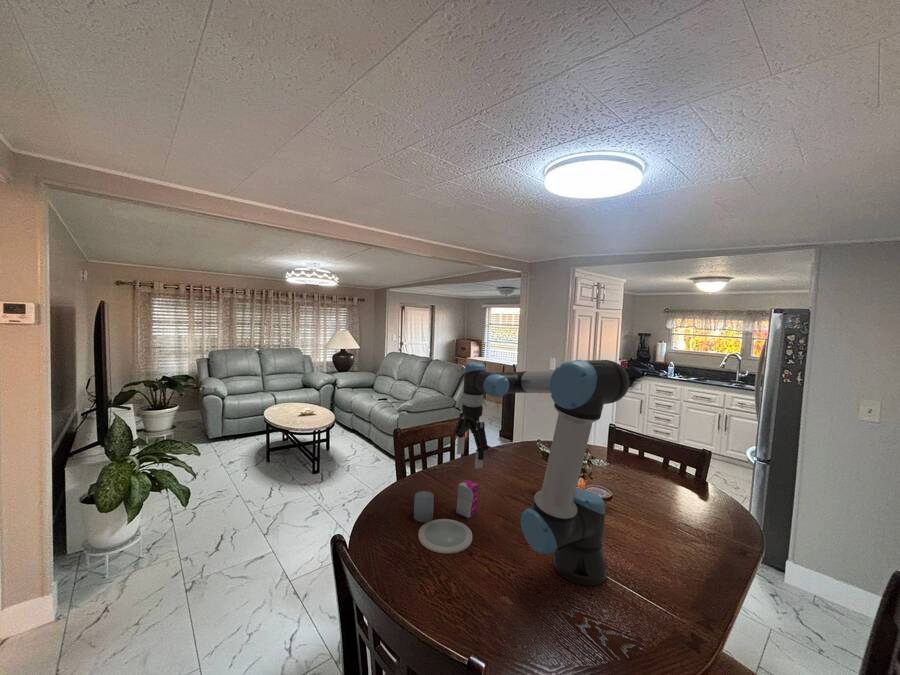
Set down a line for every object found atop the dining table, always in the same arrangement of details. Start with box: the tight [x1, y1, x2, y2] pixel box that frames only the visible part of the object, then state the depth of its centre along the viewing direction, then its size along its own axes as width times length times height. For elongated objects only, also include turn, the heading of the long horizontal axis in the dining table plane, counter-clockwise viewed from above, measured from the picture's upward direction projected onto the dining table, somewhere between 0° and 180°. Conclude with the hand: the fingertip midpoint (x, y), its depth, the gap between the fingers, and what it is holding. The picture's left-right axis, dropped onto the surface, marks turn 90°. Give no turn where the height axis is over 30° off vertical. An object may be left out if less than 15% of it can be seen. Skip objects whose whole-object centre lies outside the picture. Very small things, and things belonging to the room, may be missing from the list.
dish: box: [417, 518, 473, 555], centre depth 125 cm, size 18×18×1 cm
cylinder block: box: [413, 490, 435, 523], centre depth 136 cm, size 7×7×8 cm
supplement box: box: [455, 479, 480, 520], centre depth 140 cm, size 6×6×12 cm
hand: (469, 460), depth 140 cm, fingers open, 13 cm apart
